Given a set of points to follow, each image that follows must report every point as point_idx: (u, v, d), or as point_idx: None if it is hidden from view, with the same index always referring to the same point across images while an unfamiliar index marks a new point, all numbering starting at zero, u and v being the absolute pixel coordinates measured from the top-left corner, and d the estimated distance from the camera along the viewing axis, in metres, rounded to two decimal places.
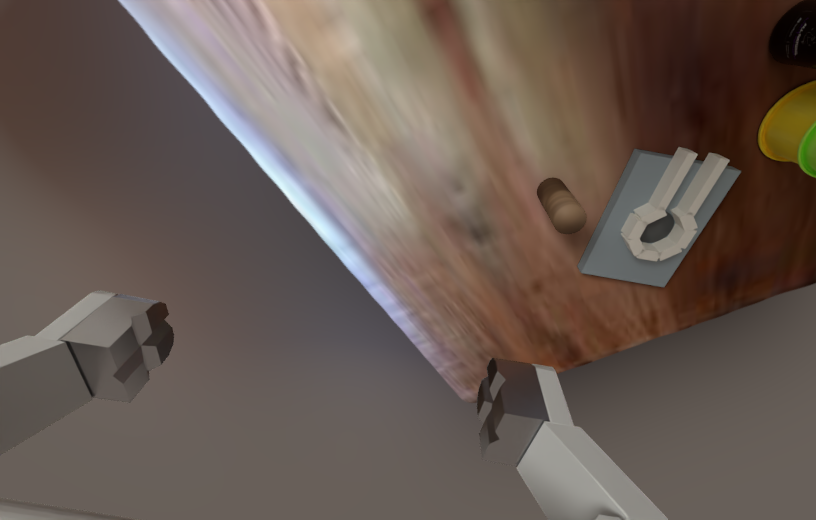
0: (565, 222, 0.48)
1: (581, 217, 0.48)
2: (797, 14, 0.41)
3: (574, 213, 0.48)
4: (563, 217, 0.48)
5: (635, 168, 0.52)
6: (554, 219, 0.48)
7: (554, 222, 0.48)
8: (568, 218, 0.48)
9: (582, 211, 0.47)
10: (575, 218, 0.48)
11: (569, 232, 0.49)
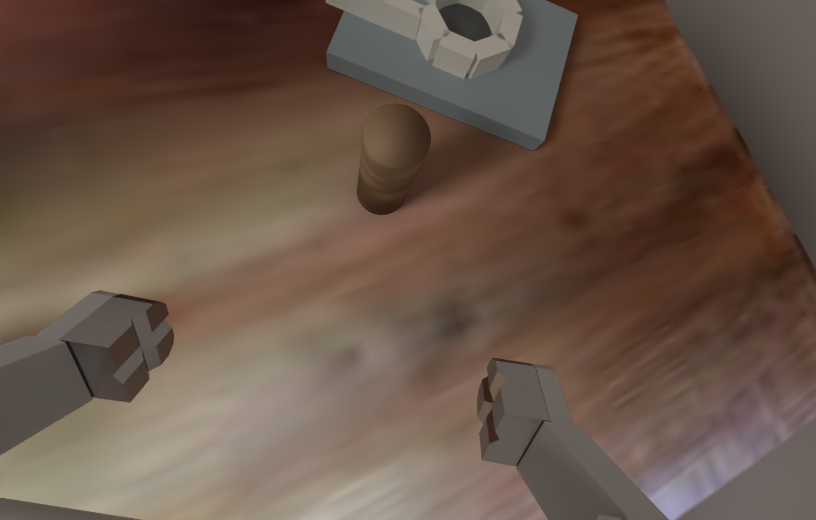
0: (401, 144, 0.22)
1: (394, 114, 0.22)
2: None
3: (382, 126, 0.22)
4: (389, 147, 0.22)
5: (351, 59, 0.31)
6: (392, 165, 0.22)
7: (399, 165, 0.22)
8: (392, 137, 0.22)
9: (380, 111, 0.22)
10: (394, 124, 0.22)
11: (427, 137, 0.22)
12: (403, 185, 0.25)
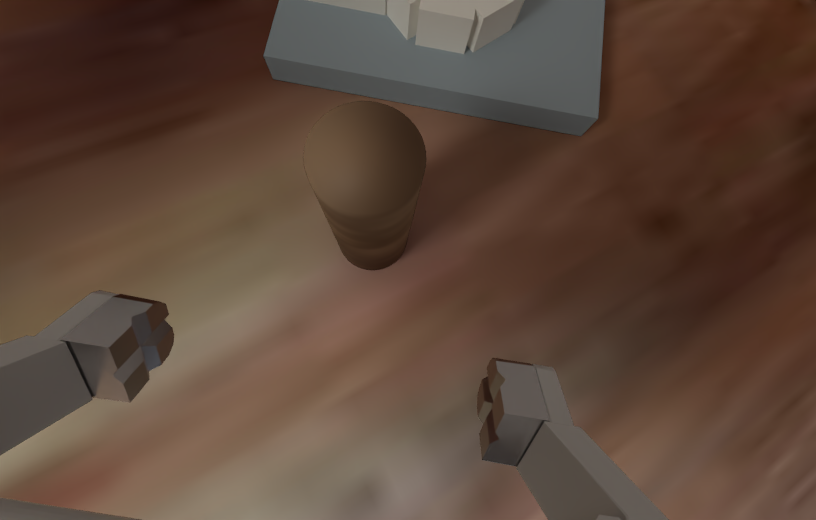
0: (375, 169, 0.12)
1: (354, 119, 0.13)
2: None
3: (336, 145, 0.12)
4: (353, 180, 0.12)
5: (300, 59, 0.22)
6: (363, 212, 0.12)
7: (376, 210, 0.12)
8: (356, 162, 0.12)
9: (327, 119, 0.12)
10: (356, 137, 0.12)
11: (419, 149, 0.12)
12: (396, 232, 0.15)
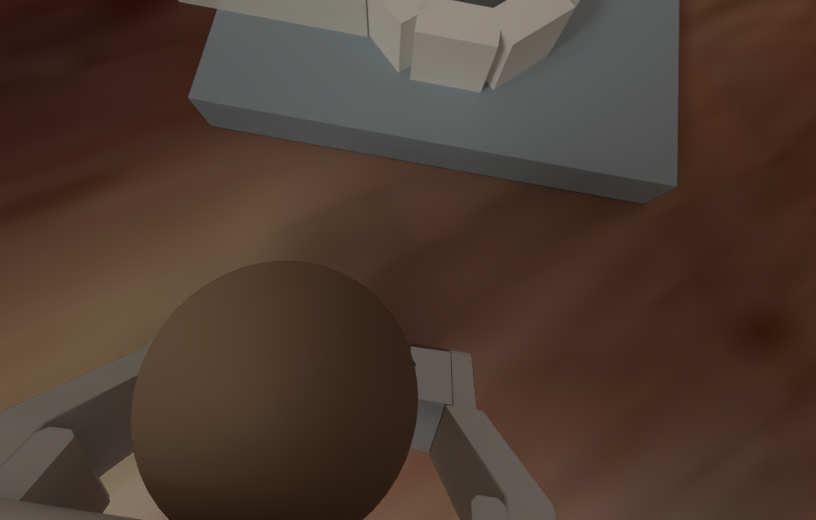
0: (299, 435, 0.05)
1: (258, 307, 0.06)
2: None
3: (212, 375, 0.05)
4: (245, 467, 0.05)
5: (241, 102, 0.15)
6: None
7: None
8: (257, 418, 0.05)
9: (196, 309, 0.06)
10: (259, 352, 0.05)
11: (402, 378, 0.06)
12: None
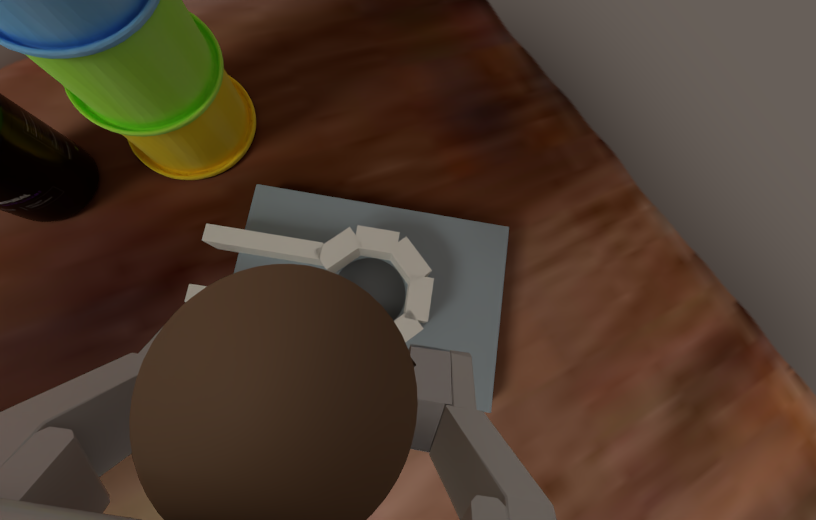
0: (298, 438, 0.05)
1: (257, 310, 0.06)
2: None
3: (210, 378, 0.05)
4: (244, 471, 0.05)
5: None
6: None
7: None
8: (256, 420, 0.05)
9: (195, 312, 0.06)
10: (258, 355, 0.05)
11: (401, 381, 0.05)
12: None
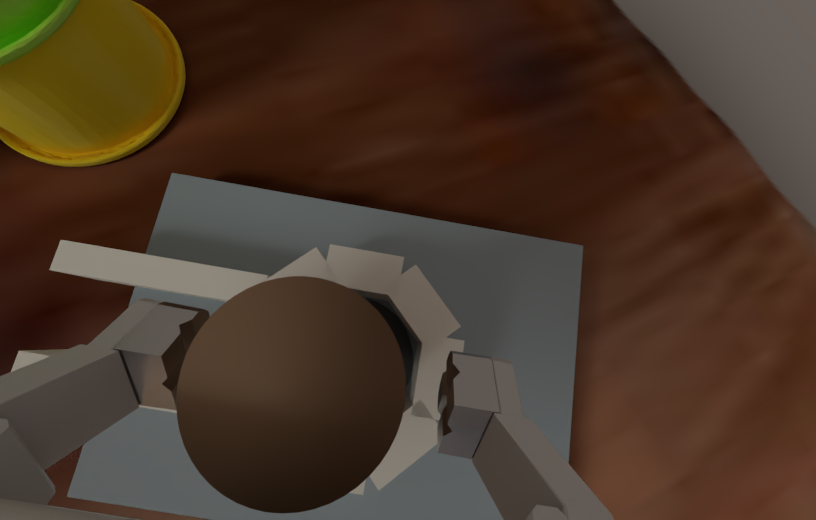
0: (310, 417, 0.07)
1: (276, 314, 0.07)
2: None
3: (239, 369, 0.07)
4: (267, 442, 0.06)
5: (121, 499, 0.15)
6: (285, 506, 0.06)
7: (310, 501, 0.06)
8: (277, 402, 0.07)
9: (227, 315, 0.07)
10: (278, 350, 0.07)
11: (393, 371, 0.07)
12: None
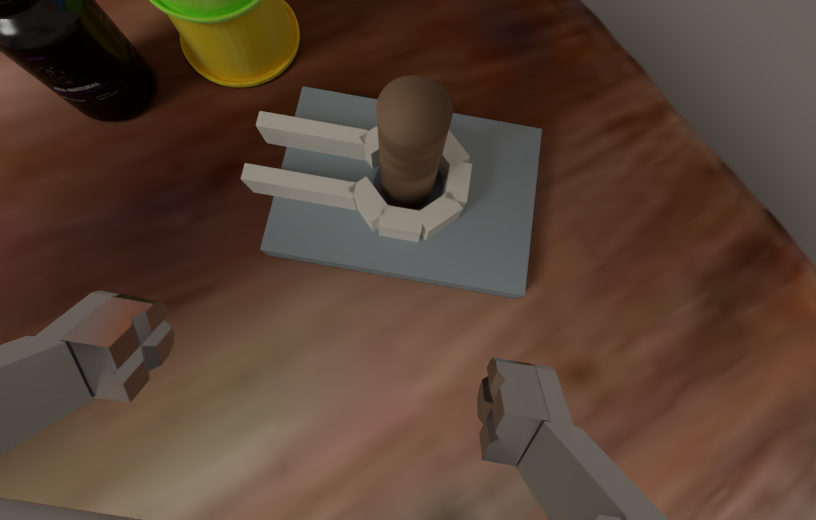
0: (421, 117, 0.19)
1: (407, 86, 0.20)
2: None
3: (396, 102, 0.20)
4: (407, 124, 0.19)
5: (288, 251, 0.28)
6: (414, 143, 0.19)
7: (422, 141, 0.19)
8: (409, 112, 0.20)
9: (390, 86, 0.20)
10: (408, 97, 0.20)
11: (448, 105, 0.20)
12: (430, 167, 0.23)
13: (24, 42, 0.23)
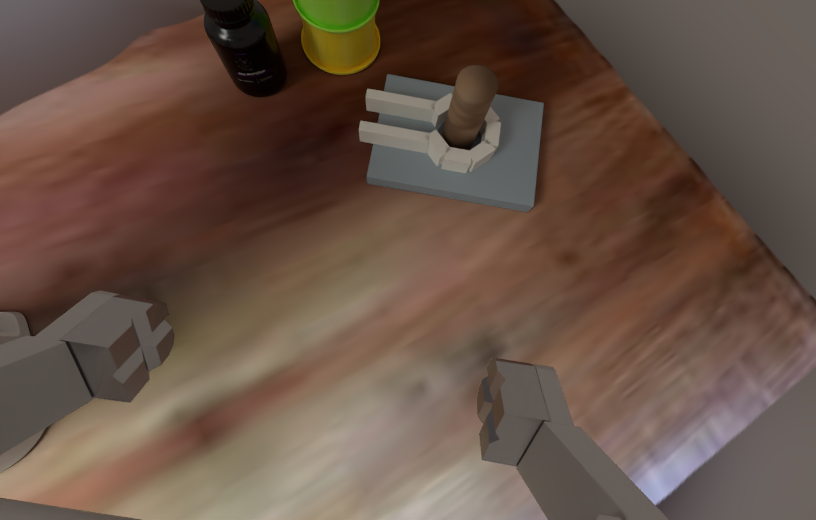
0: (481, 88, 0.36)
1: (473, 71, 0.36)
2: (238, 82, 0.45)
3: (467, 80, 0.36)
4: (473, 91, 0.36)
5: (384, 178, 0.44)
6: (477, 101, 0.35)
7: (482, 101, 0.35)
8: (474, 85, 0.36)
9: (463, 71, 0.36)
10: (474, 77, 0.36)
11: (495, 81, 0.36)
12: (481, 119, 0.39)
13: (240, 44, 0.39)
